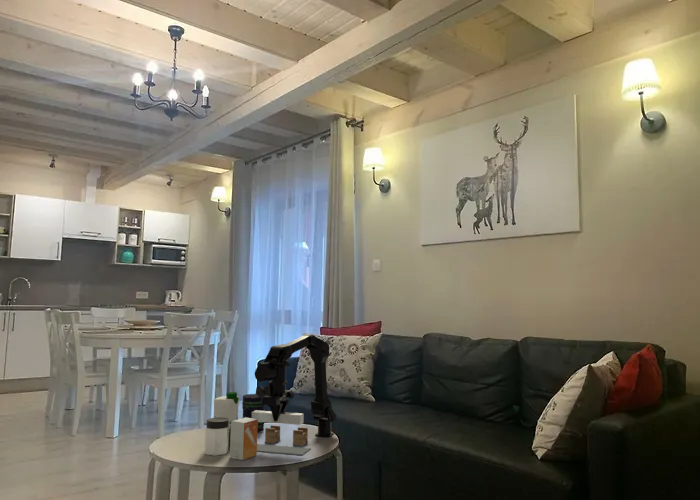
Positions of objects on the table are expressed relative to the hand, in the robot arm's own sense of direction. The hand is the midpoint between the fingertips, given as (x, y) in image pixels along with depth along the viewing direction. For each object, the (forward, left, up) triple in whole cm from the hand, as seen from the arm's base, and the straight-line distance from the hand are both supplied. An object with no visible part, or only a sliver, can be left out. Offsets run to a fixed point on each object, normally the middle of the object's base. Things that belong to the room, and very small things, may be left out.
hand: (277, 420), depth 203 cm
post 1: (-12, -7, -11) cm, 18 cm away
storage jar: (-27, -23, -11) cm, 37 cm away
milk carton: (-2, -23, -11) cm, 26 cm away
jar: (+10, -20, -11) cm, 25 cm away
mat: (0, 0, -11) cm, 11 cm away
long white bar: (0, 0, -1) cm, 1 cm away
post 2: (-12, +5, -11) cm, 17 cm away
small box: (+12, -8, -11) cm, 18 cm away
